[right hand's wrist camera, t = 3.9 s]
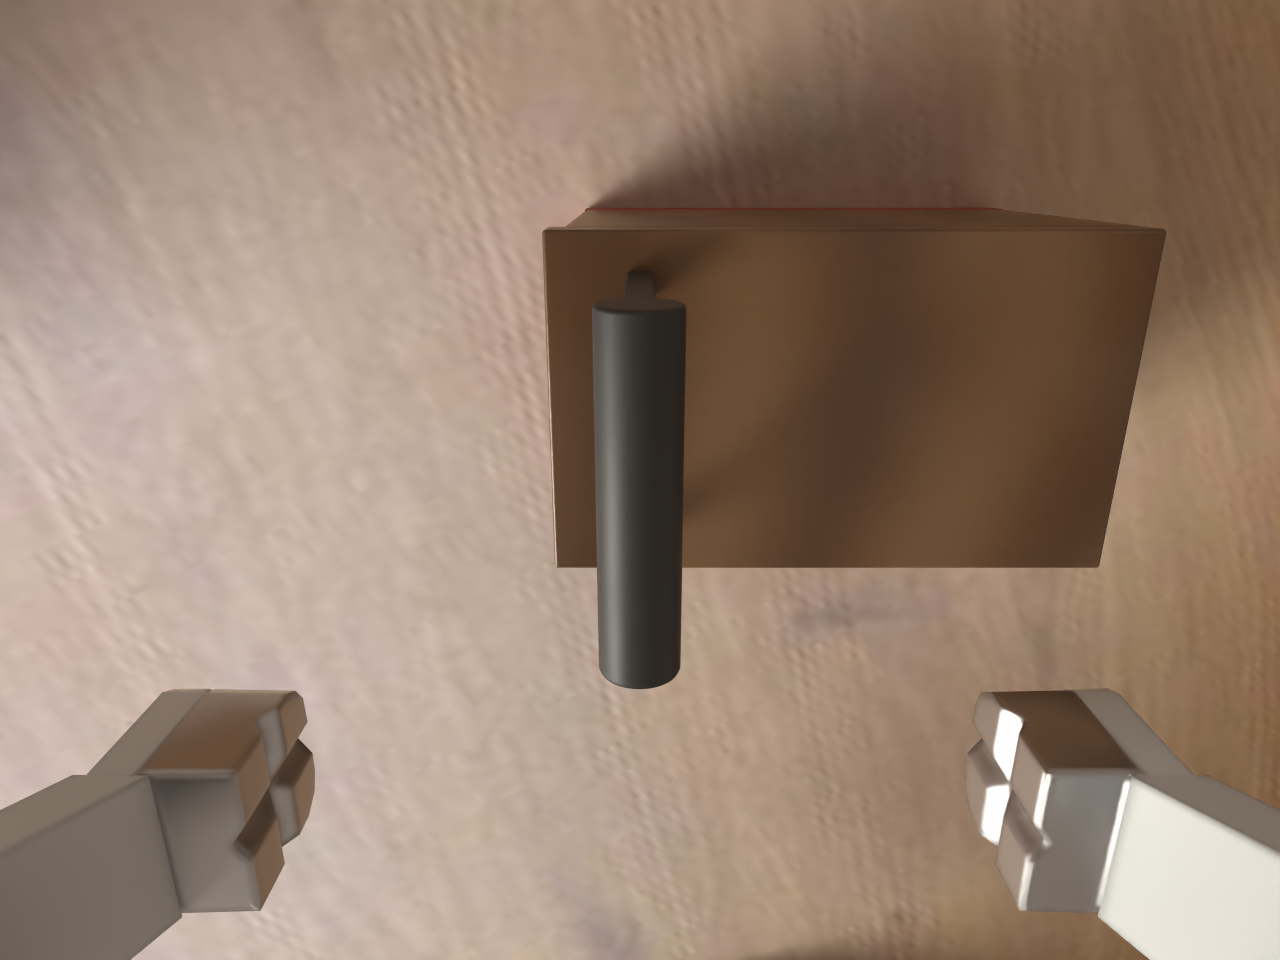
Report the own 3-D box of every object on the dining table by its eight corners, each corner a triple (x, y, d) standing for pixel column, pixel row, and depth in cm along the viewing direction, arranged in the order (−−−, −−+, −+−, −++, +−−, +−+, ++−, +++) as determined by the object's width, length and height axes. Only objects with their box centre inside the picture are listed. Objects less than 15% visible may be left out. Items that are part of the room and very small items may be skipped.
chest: (591, 444, 37) (572, 551, 27) (586, 208, 34) (563, 226, 24) (958, 444, 37) (1080, 551, 27) (989, 208, 34) (1142, 225, 24)
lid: (558, 552, 27) (520, 726, 18) (546, 226, 24) (493, 259, 15) (1080, 551, 27) (1279, 726, 18) (1142, 226, 24) (1421, 259, 15)
